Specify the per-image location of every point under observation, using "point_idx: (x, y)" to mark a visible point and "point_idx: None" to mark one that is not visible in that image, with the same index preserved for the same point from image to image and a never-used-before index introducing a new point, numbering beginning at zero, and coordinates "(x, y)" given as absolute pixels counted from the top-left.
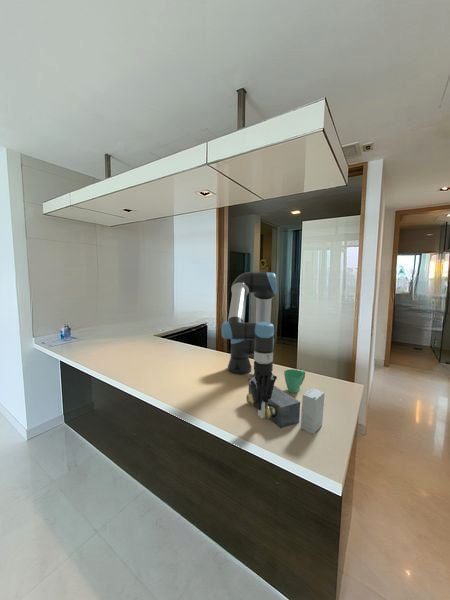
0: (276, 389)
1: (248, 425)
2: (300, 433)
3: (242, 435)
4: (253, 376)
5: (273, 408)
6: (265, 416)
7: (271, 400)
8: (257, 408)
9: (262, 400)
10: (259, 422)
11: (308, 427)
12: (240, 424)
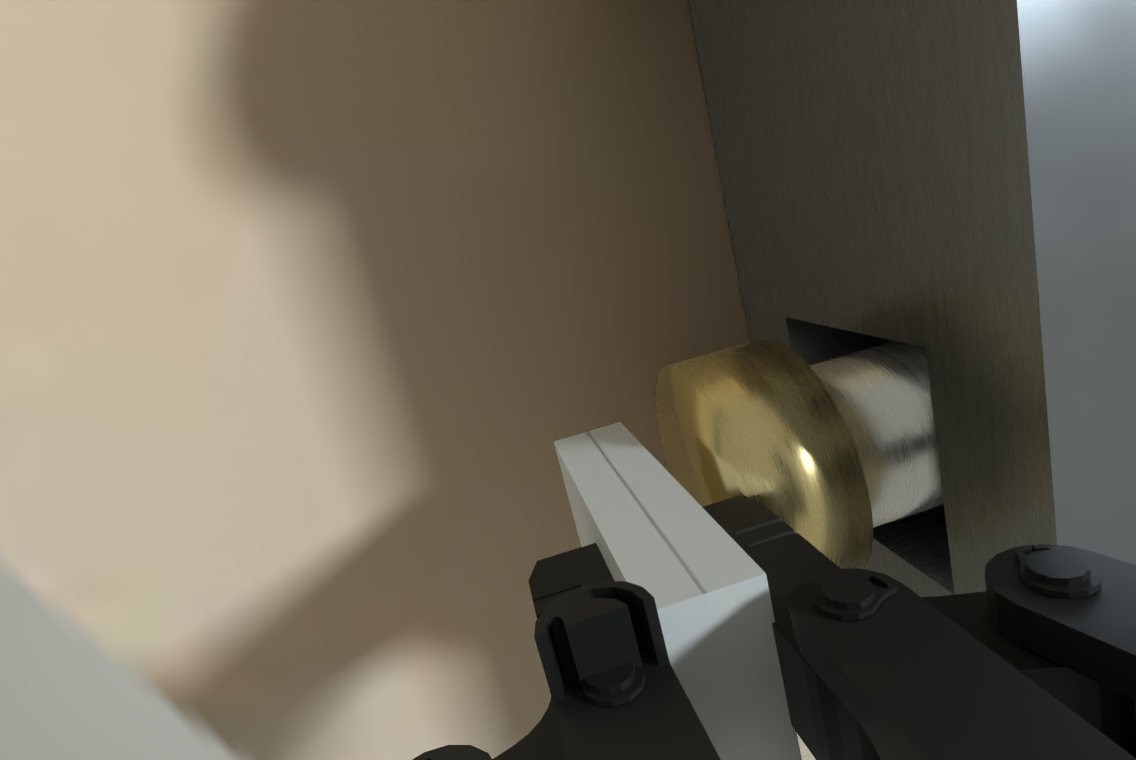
0: None
1: (356, 445)
2: None
3: (192, 672)
4: None
5: (922, 503)
6: (680, 481)
7: (1049, 506)
8: (537, 586)
9: (773, 637)
10: (564, 396)
11: None
12: (219, 396)
